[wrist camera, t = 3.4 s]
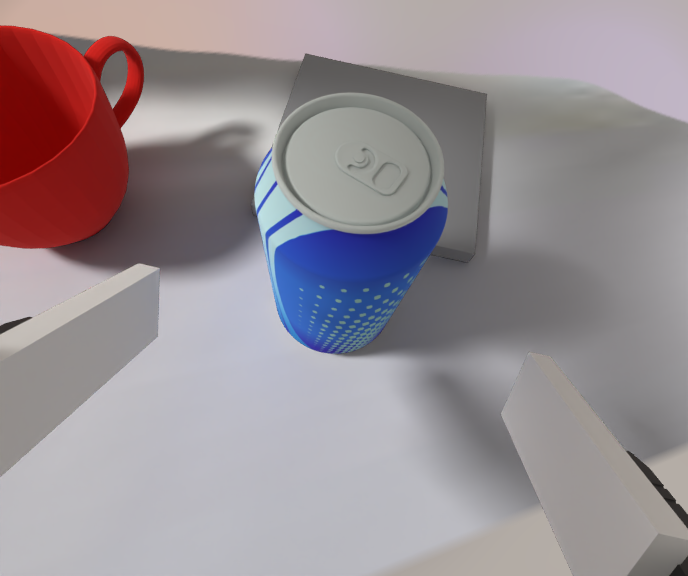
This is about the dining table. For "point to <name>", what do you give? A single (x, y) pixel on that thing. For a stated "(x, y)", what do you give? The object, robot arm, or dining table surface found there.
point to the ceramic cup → (60, 138)
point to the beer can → (348, 215)
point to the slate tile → (437, 113)
